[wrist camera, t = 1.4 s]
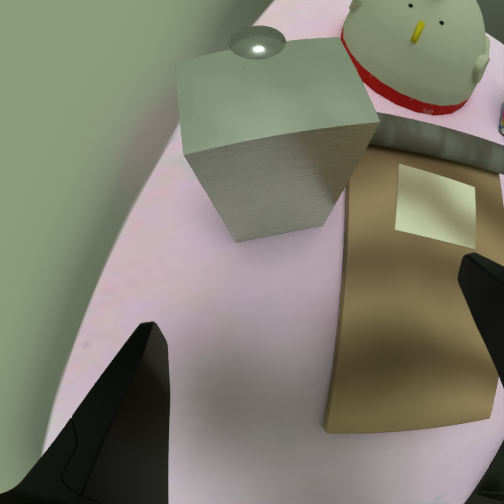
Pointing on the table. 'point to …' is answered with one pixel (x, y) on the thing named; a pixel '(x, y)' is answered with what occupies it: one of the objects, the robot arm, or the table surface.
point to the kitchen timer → (418, 50)
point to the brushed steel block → (273, 129)
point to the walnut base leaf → (415, 281)
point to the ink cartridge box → (502, 121)
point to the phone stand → (491, 483)
